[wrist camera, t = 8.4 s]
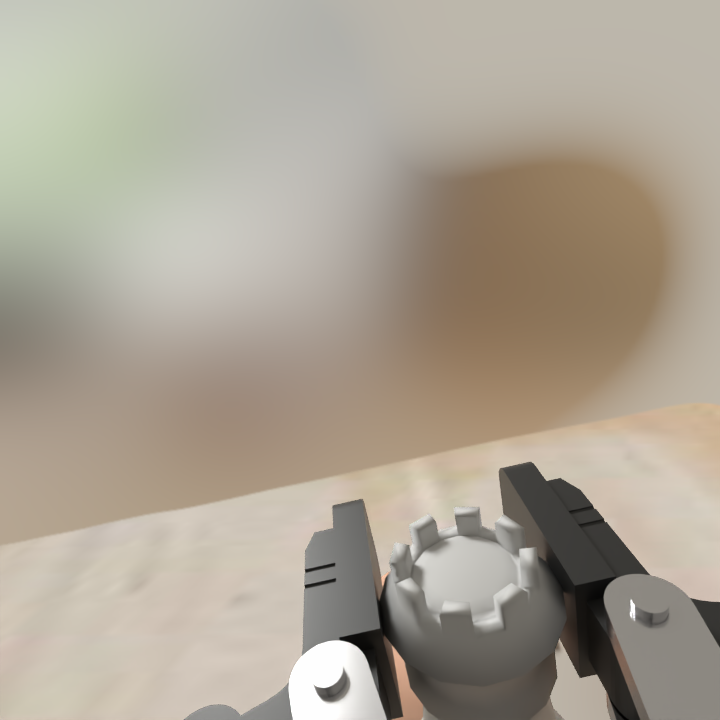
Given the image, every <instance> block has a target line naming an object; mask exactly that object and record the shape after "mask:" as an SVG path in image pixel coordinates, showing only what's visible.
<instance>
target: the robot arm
mask: <svg viewBox="0 0 720 720" xmlns="http://www.w3.org/2000/svg"><path fill="white" fill-rule="evenodd" d="M499 480H500V488H501V496H502V505H503V513H504V515H506V516H507V517H509V518H510V519H512V520H513V521H515V522H516V523H518V524H519V525H521V526H522V527H524V531H525V541H526V548H533V547H537V555H538V556H539V557H541V558H542V559H543V560H545V561H546V562H547V564H548V566H549V567H550V569H551V570H552V572H553V574H554V575H555V577H556V578H557V580H558V582H559V583H560V585H561V587H562V589H563V592H564V600H565V607H566V615H567V620H566V623H565V625H564V628H563V630H562V633H561V635H560V640H561V642H562V644H563V646H564V648H565V650H566V652H567V654H568V656H569V658H570V660H571V661H572V663H573V665H574V667H575V669H576V671H577V673H578V675H579V677H580V678H582V677H586V676H591V675H596V674H597V675H598V677H599V679H600V681H601V682H602V684H603V686H604V688H605V690H606V692H607V708H608V712H609V715H610V719H611V720H720V602H709V601H701V600H696V599H692V598H689V597H688V596H687V595H686V594H685V593H684V592H683V591H682V590H681V589H680V588H678V587H677V586H675V585H673V584H672V583H670V582H668V581H666V580H664V579H661V578H658V577H655V576H651V575H650V574H649V573H648V572H647V571H646V570H645V569H644V567H643V566H642V565H641V564H640V563H639V561H638V560H637V559H636V558H635V556H634V555H633V554H632V553H631V552H630V550H629V549H628V548H627V547H626V545H625V544H624V543H623V542H622V540H621V539H620V538H619V537H618V536H617V534H616V533H615V532H614V531H613V529H612V528H611V527H610V526H609V525H608V523H607V522H605V521H604V518H603V517H602V516H601V515H600V514H599V512H598V511H597V510H596V509H594V508H593V505H592V504H591V503H590V501H589V500H588V499H587V498H586V496H585V495H584V494H583V493H582V492H581V490H580V489H578V488H576V487H574V486H573V485H571V484H569V483H568V482H566V481H564V480H562V479H561V478H559V479H554V480H550V481H546V480H545V479H544V477H543V476H542V474H541V473H540V472H539V470H538V469H537V468H536V466H535V465H534V464H533V463H532V462H527V463H523V464H518V465H514V466H509V467H505V468H500V470H499ZM304 585H305V589H304V620H303V651H302V657H301V659H300V660H299V661H298V663H297V664H296V666H295V667H294V670H293V672H292V674H291V678H290V681H289V683H288V684H287V685H286V686H285V687H284V688H283V689H282V690H281V691H280V692H279V693H277V694H276V695H275V696H273V697H272V698H270V699H269V700H267V701H265V702H264V703H262V704H260V705H258V706H257V707H255V708H253V709H251V710H250V711H248V712H246V713H244V714H243V715H241V716H240V714H239V713H238V712H237V711H236V710H235V709H233V708H231V707H229V706H226V705H219V704H218V705H210V706H207V707H204V708H201V709H199V710H197V711H195V712H194V713H192V714H190V715H189V716H188V717H186V718H185V719H184V720H392V719H396V718H400V717H403V711H402V705H401V699H400V692H399V686H398V680H397V674H396V667H395V661H394V655H393V649H392V644H391V643H390V642H389V641H388V639H387V638H386V637H385V635H384V630H383V623H382V617H381V610H380V604H379V600H380V597H381V593H382V589H383V586H382V580H381V574H380V568H379V563H378V558H377V554H376V549H375V545H374V541H373V537H372V533H371V529H370V525H369V521H368V517H367V513H366V509H365V505H364V501H363V499H359V500H355V501H350V502H346V503H341V504H337V505H333V529H328V530H324V531H319V532H315V533H314V535H313V537H312V539H311V541H310V543H309V544H308V546H307V548H306V550H305V582H304Z"/></svg>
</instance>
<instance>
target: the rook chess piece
mask: <svg viewBox="0 0 720 720" xmlns="http://www.w3.org/2000/svg"><path fill="white" fill-rule="evenodd" d="M454 513H455V519H456V525H457V526H453V527H449V528H445V529H441V530H437V525H436V521H435V520H434V519H433V517H432V516H431V515H430V514H427V515H425V516H424V517H422V518H420V519H419V520H417V521H415V522H414V523H412V524H410V525H409V529H410V534H411V538H412V543H413V544H412V545H411V546H409V545H406V544H400V543H394V547H393V551H392V555H391V558H390V562H389V564H390V568H391V571H390V573H389V574H388V575H387V576H386V578H385V581H384V585H383V589H382V593H381V597H380V600H379V604H380V610H381V617H382V623H383V630H384V635H385V637H386V638H387V639H388V641H389V642H390V643H391V644H392V646H393V647H394V648H395V650H396V651H397V652H398V654H399V655H400V656H401V658H402V659H403V660H404V663H405V667H406V671H407V675H408V680H409V684H410V688H411V689H412V691H413V692H414V693H415V695H416V696H417V697H418V699H419V700H420V702H421V703H422V704H423V718H422V719H421V720H564V719H563V718H562V717H561V716H560V715H559V714H558V713H557V712H556V711H555V710H554V709H553V706H552V703H551V699H550V695H551V691H552V689H553V686H554V684H555V681H556V679H557V670H556V660H555V648H556V645H557V643H558V640H559V638H560V635H561V633H562V630H563V628H564V625H565V623H566V620H567V615H566V607H565V600H564V592H563V589H562V587H561V585H560V583H559V582H558V580H557V578H556V577H555V575H554V574H553V572H552V570H551V569H550V567H549V566H548V564H547V562H546V561H545V560H543V559H542V558H541V557H539V556H538V555H537V547H533V548H526V541H525V531H524V527H522V526H521V525H519V524H518V523H516V522H515V521H513V520H512V519H510V518H509V517H507V516H506V515H503V516H502V517H501V518H499V519H498V520H497V521H496V522H495V529H496V530H493V529H490V528H487V527H483V526H482V523H481V516H480V508H479V507H454Z"/></svg>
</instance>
